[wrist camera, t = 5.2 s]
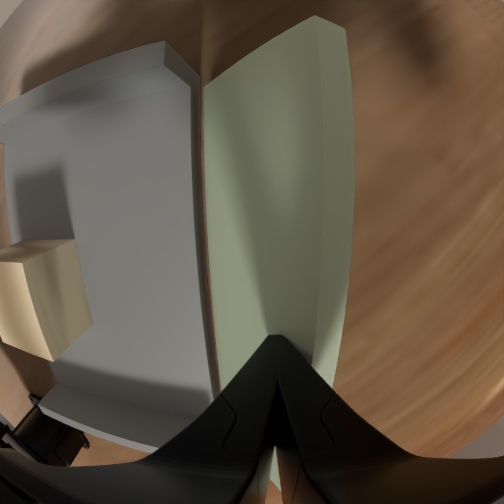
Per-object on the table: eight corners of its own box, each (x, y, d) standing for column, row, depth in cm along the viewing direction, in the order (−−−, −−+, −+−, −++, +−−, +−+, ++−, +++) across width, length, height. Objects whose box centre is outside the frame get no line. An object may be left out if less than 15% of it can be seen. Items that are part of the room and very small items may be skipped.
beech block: (40, 313, 14) (2, 341, 11) (23, 240, 13) (-23, 259, 9) (93, 323, 14) (53, 362, 10) (75, 239, 13) (22, 263, 9)
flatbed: (70, 380, 18) (43, 413, 14) (20, 128, 13) (-29, 128, 8) (221, 413, 17) (209, 464, 13) (200, 76, 11) (165, 40, 7)
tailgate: (225, 417, 15) (287, 499, 10) (203, 87, 10) (314, 15, 4) (239, 412, 16) (304, 490, 10) (225, 88, 11) (345, 28, 5)
